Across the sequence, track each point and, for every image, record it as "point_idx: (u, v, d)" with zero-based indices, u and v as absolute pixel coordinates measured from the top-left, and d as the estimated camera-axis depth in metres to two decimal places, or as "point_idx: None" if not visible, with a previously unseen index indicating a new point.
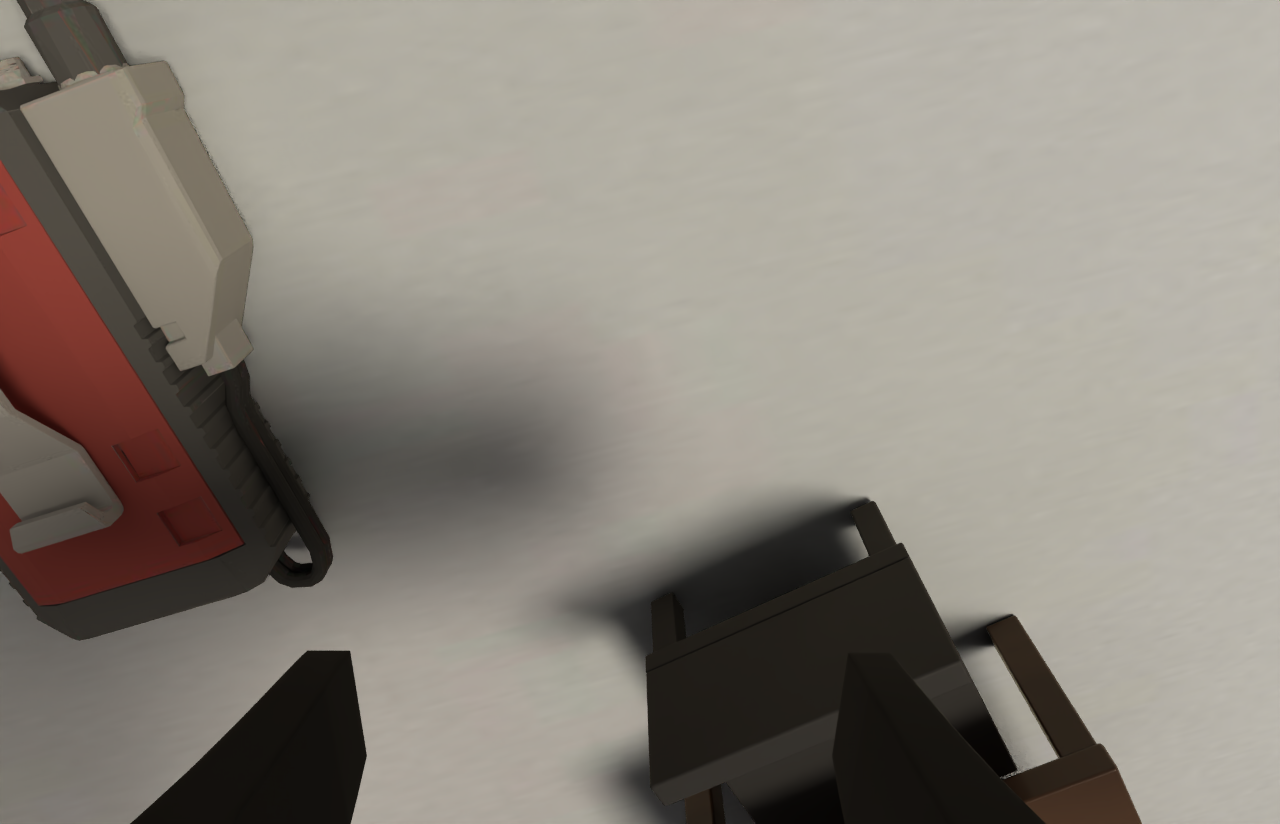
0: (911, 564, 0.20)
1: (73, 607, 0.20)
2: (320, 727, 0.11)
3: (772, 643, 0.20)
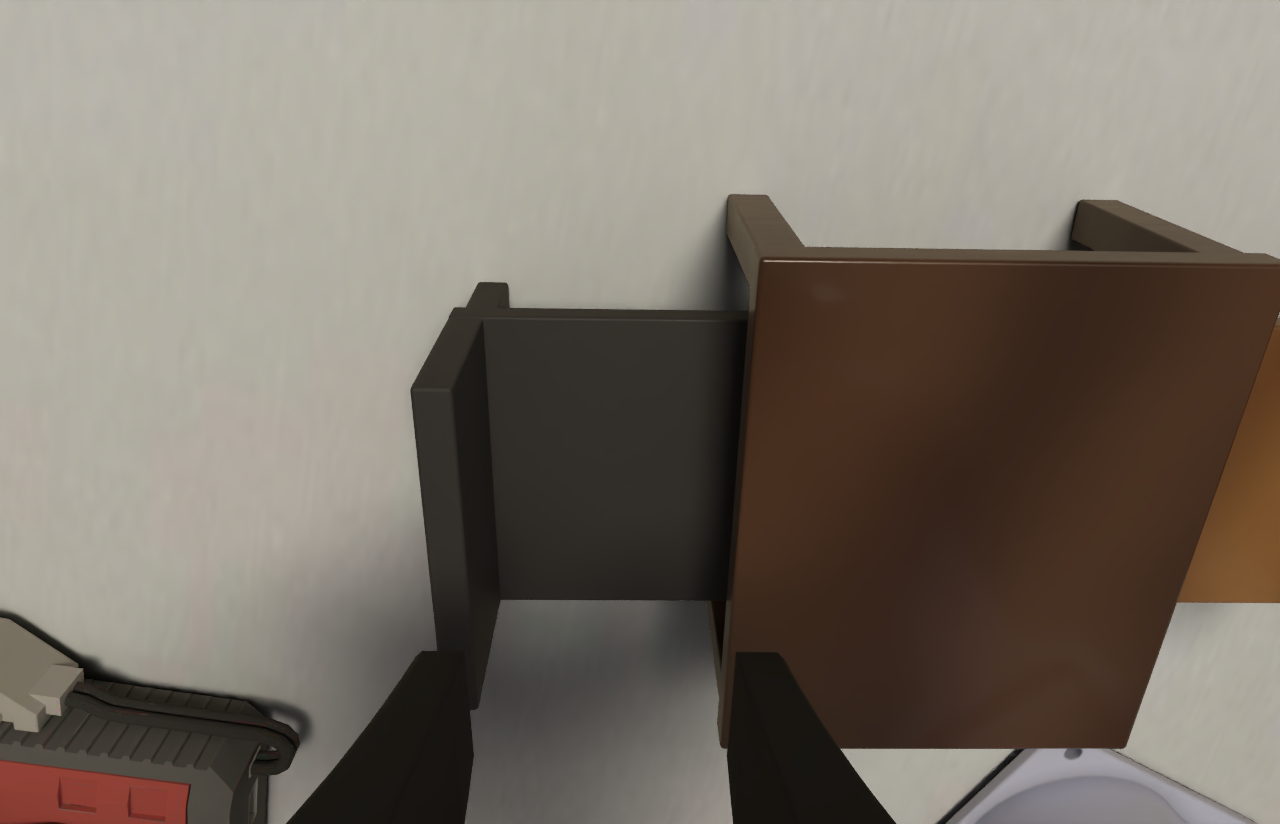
0: (446, 323, 0.17)
1: None
2: (446, 727, 0.11)
3: None
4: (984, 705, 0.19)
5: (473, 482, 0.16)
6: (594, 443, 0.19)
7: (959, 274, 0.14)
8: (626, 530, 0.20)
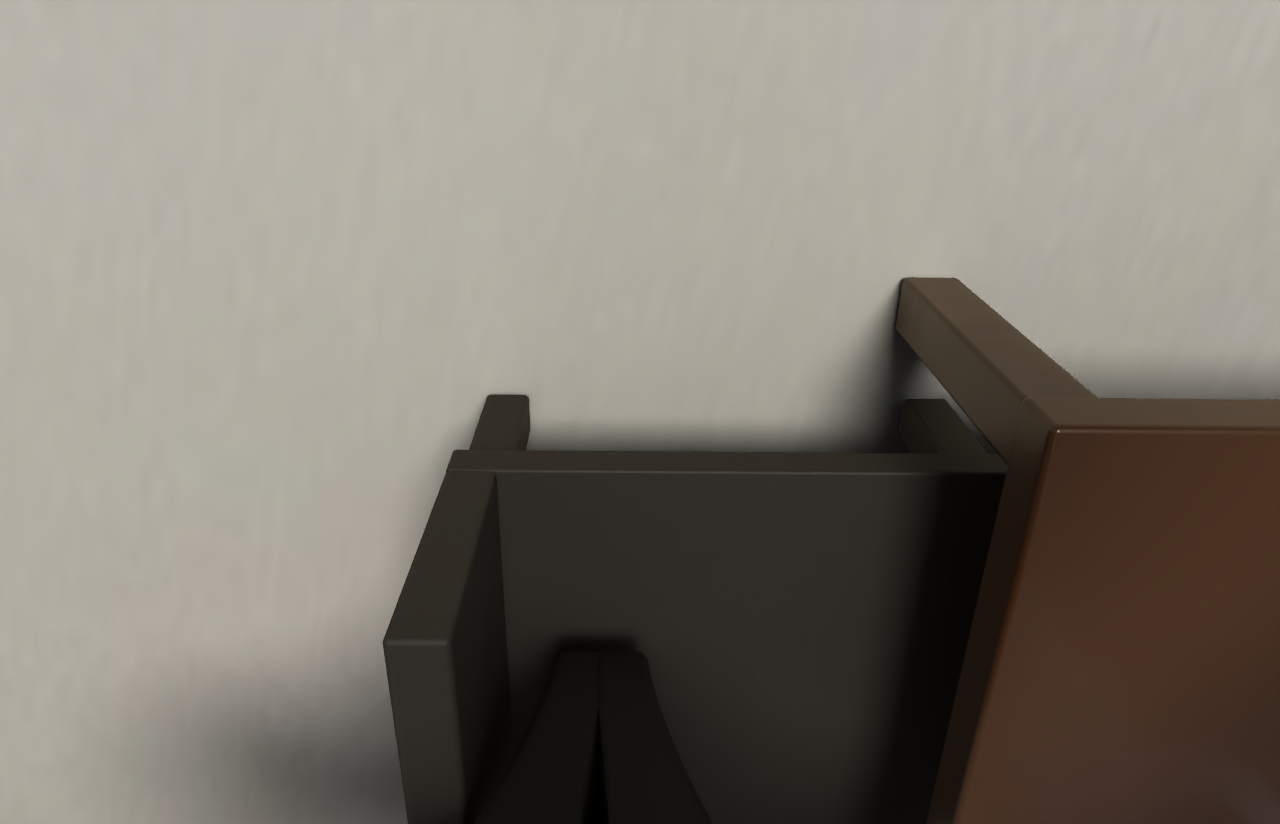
0: (442, 482, 0.12)
1: None
2: (599, 727, 0.11)
3: None
4: None
5: (483, 733, 0.11)
6: (653, 634, 0.13)
7: None
8: (693, 742, 0.14)
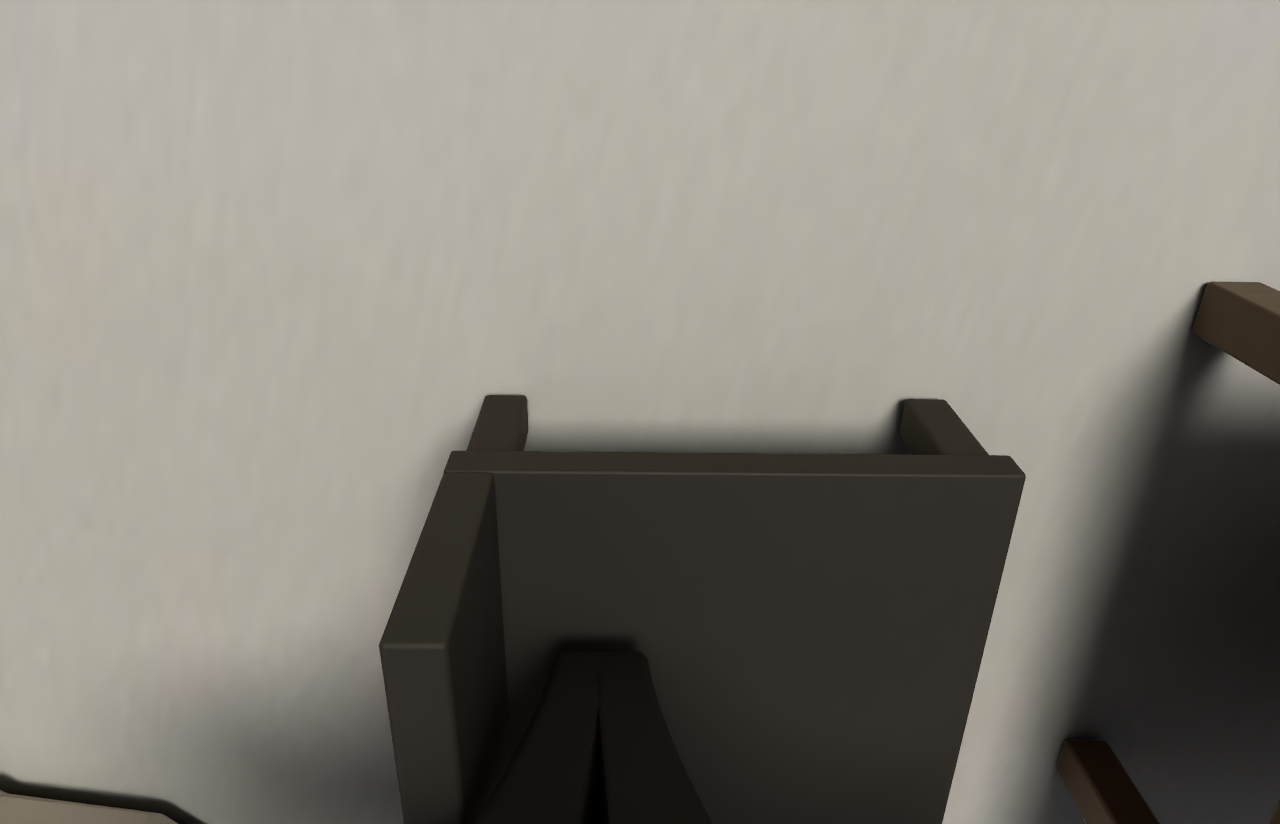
0: (440, 483, 0.12)
1: None
2: (599, 728, 0.11)
3: None
4: None
5: (480, 736, 0.11)
6: (651, 636, 0.13)
7: None
8: (692, 744, 0.14)
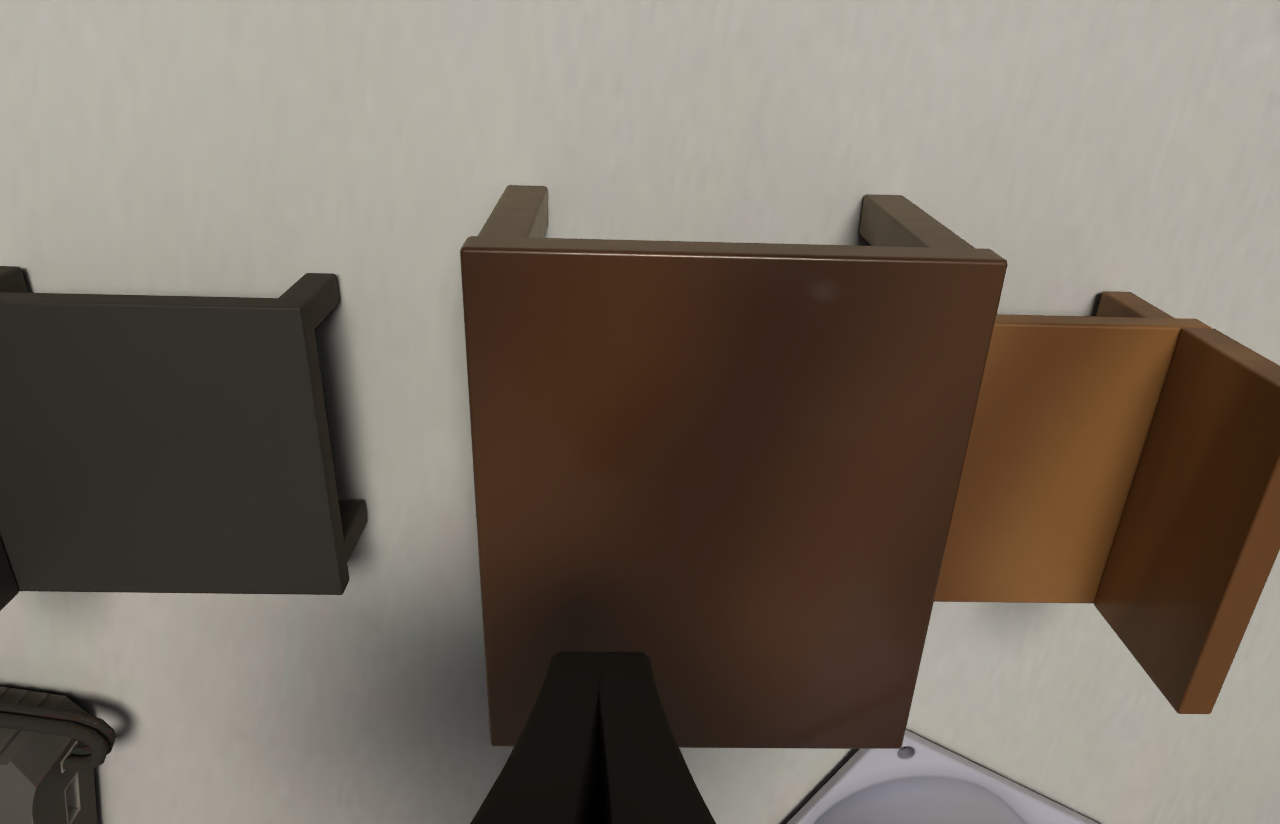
0: None
1: None
2: (596, 727, 0.11)
3: None
4: (752, 704, 0.18)
5: None
6: (73, 431, 0.18)
7: (665, 266, 0.14)
8: (131, 521, 0.19)
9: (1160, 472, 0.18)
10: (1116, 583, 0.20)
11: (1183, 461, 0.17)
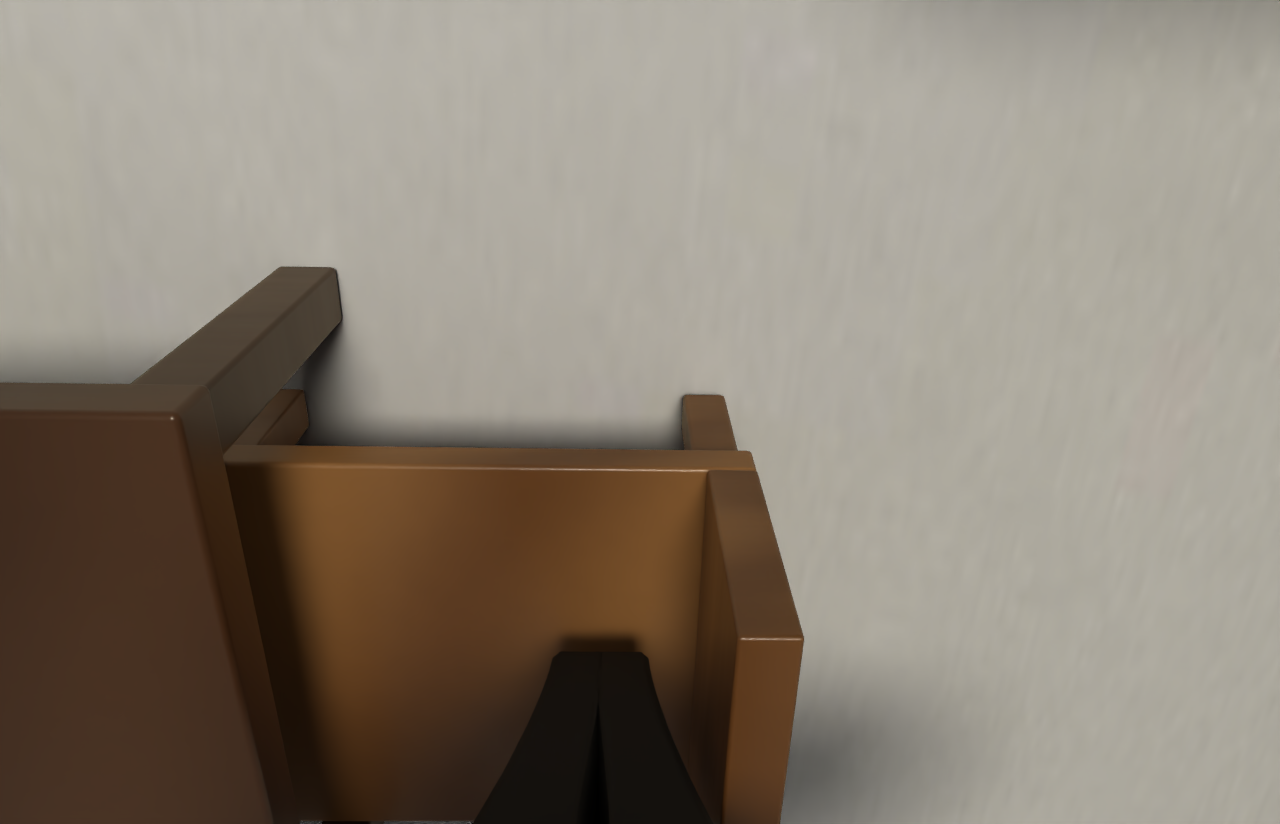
0: None
1: None
2: (597, 727, 0.11)
3: None
4: None
5: None
6: None
7: None
8: None
9: (700, 673, 0.13)
10: None
11: (705, 670, 0.12)
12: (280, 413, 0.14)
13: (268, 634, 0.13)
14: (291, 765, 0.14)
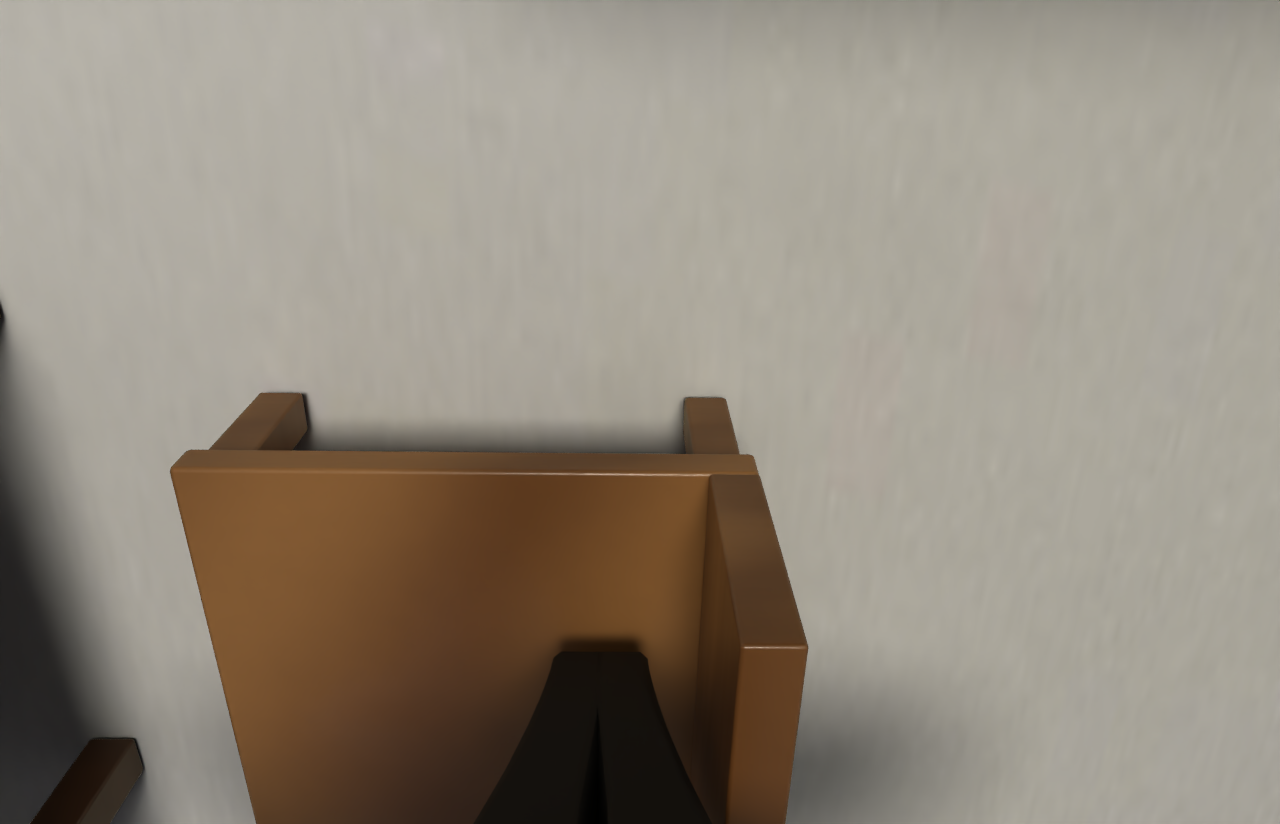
0: None
1: None
2: (598, 727, 0.11)
3: None
4: None
5: None
6: None
7: None
8: None
9: (703, 678, 0.12)
10: None
11: (708, 676, 0.12)
12: (277, 418, 0.13)
13: (266, 640, 0.13)
14: (289, 773, 0.14)
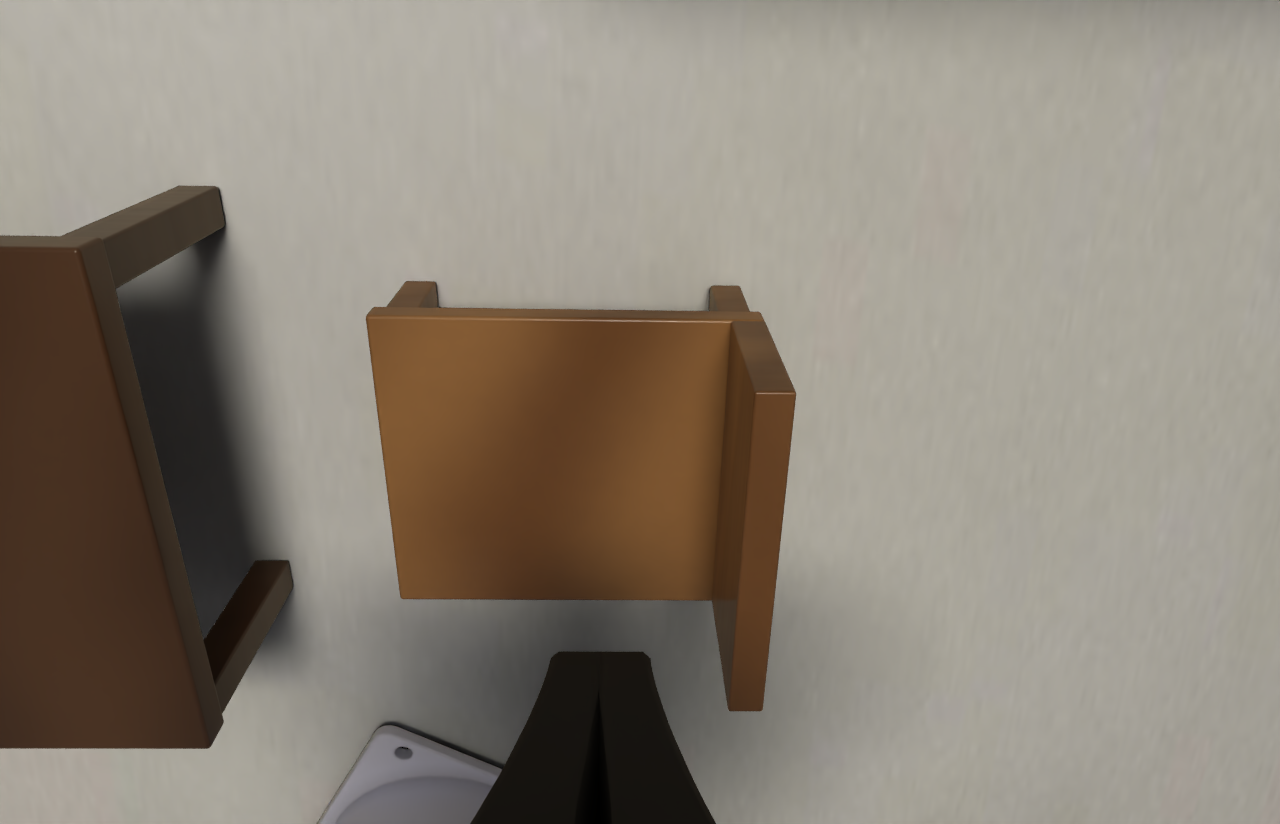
0: None
1: None
2: (596, 727, 0.11)
3: None
4: (32, 704, 0.18)
5: None
6: None
7: None
8: None
9: (725, 467, 0.18)
10: (716, 580, 0.19)
11: (730, 456, 0.17)
12: (424, 294, 0.19)
13: (421, 446, 0.19)
14: (428, 552, 0.20)
